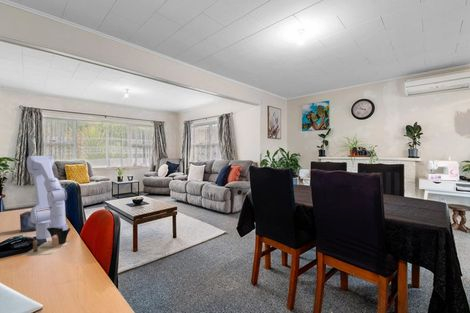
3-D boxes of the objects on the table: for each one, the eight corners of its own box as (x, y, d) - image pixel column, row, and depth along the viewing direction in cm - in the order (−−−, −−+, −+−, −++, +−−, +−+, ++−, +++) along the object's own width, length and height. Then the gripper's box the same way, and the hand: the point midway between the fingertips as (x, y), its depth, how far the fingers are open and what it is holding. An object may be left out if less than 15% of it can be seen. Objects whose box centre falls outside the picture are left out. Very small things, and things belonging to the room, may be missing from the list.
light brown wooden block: (50, 244, 106) (50, 236, 106) (62, 240, 111) (62, 232, 111) (55, 246, 104) (55, 238, 104) (67, 242, 108) (67, 234, 108)
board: (48, 243, 111) (48, 230, 111) (73, 241, 112) (73, 229, 112) (20, 258, 95) (19, 244, 95) (50, 257, 96) (49, 243, 96)
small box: (19, 232, 127) (18, 214, 126) (26, 228, 133) (26, 211, 133) (41, 230, 130) (40, 212, 129) (47, 226, 136) (47, 209, 136)
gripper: (40, 214, 107) (42, 242, 107) (54, 219, 100) (56, 248, 100) (58, 211, 113) (59, 237, 114) (72, 215, 106) (73, 242, 106)
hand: (59, 242), depth 107 cm, fingers open, 6 cm apart
